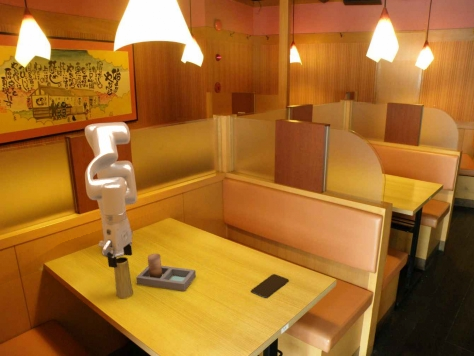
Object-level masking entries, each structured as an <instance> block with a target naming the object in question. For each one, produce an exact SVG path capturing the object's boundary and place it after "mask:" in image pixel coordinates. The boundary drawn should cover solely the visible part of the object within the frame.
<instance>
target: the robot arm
mask: <svg viewBox="0 0 474 356" xmlns="http://www.w3.org/2000/svg"><path fill="white" fill-rule="evenodd" d="M84 135H85V138H86V141H87V143H88V144H89V146H90V148H91V149H92V152H93V155H94V158H93V159H91V161H90V163H89V164H88V165H87V166H86V169H85V173H84V179H85V181H84V182H85V190H86V191H85V192H86V195H87V197H88V198H89V200H92V201H96V202H97V204H98V208H99V212H100V217H101V218H100V219H101V226H102V235H103V240H99V242H98V247H101V248H102V251H101V252H102V253H101V254H102V255H103V256H104V257H106V258H107V264H108V267H109V268H113V269H114V268H116V267H117V259H116V258H119V257H123V256H132V255H133V250H132V244H133V232H134V231H133V230H131V224H130V221H129V219H128V217H127V208H126V206H129V205H134V204H136V203H137V200H138V191H137V183H136V176H135V169H134V166H133V163H132V162H131V161H130V160H118V159H119V153H118V148H117V145H127V144H129V143H130V141H131V132H130V128H129V126H128V124H127V123H125V122H123V121H116V122H114V121H112V122H99V123H92V124H88V125H87V126H85V127H84ZM117 160H118V161H117ZM95 175H97V176H96V177H97V178H95V179H94V177H95Z"/></svg>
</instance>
